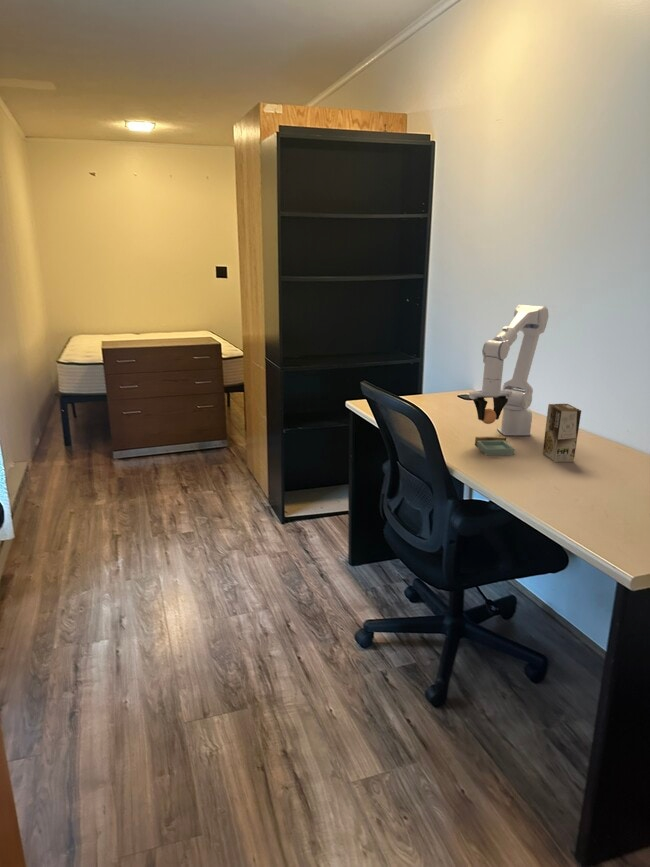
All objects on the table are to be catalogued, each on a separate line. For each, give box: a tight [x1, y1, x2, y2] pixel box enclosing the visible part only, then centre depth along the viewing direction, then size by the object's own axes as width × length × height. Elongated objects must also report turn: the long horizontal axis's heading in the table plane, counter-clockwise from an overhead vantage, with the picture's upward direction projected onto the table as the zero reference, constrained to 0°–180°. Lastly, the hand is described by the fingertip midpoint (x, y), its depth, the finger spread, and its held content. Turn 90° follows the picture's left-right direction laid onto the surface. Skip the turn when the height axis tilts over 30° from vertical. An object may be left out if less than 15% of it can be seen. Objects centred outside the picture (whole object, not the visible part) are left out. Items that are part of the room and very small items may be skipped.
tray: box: [476, 440, 515, 456], centre depth 189 cm, size 9×9×2 cm
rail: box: [474, 436, 508, 446], centre depth 194 cm, size 10×1×2 cm, turn 94°
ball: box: [482, 408, 496, 425], centre depth 192 cm, size 5×5×5 cm
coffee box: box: [542, 403, 582, 463], centre depth 181 cm, size 9×6×16 cm
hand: (488, 419), depth 192 cm, fingers closed on ball, 5 cm apart
